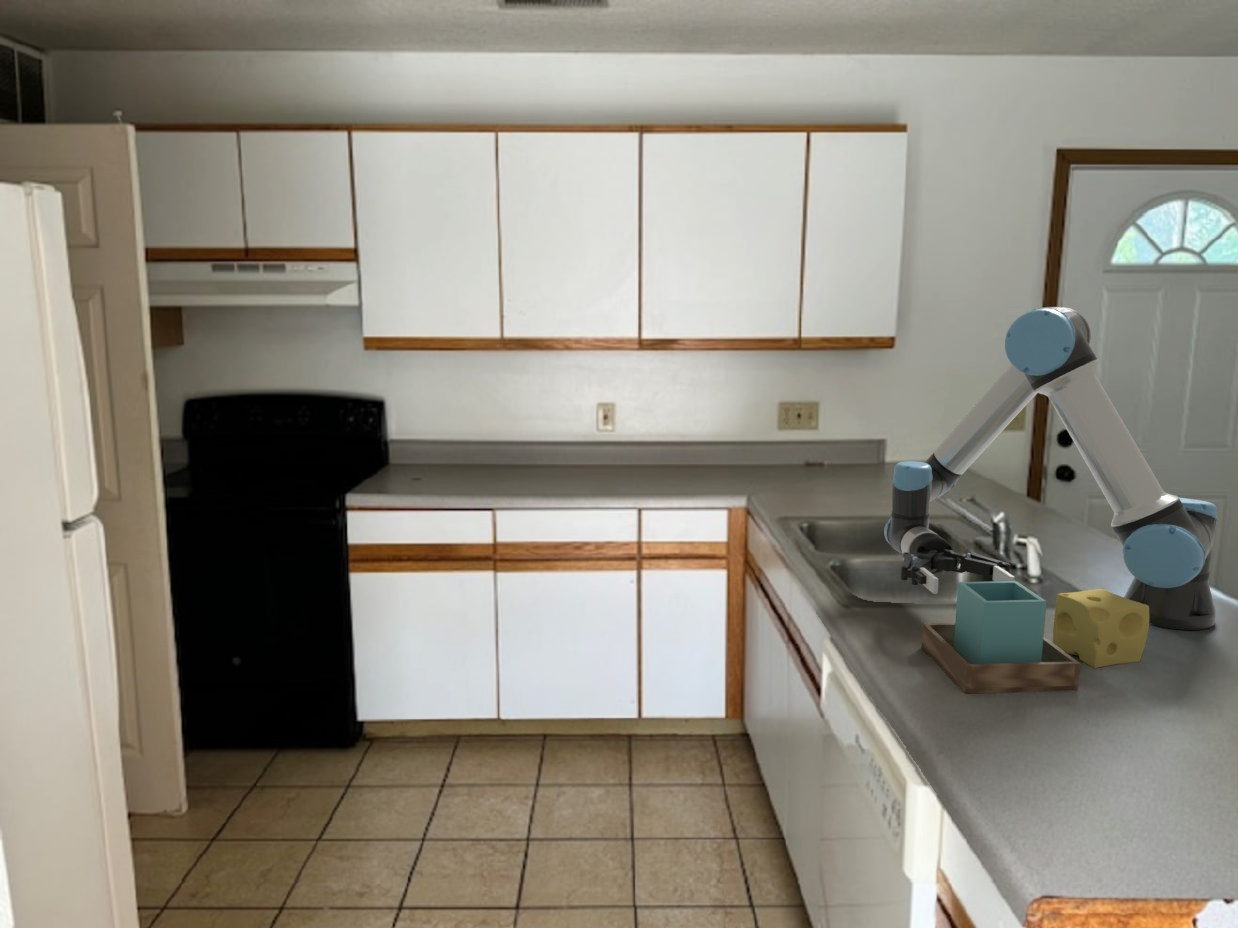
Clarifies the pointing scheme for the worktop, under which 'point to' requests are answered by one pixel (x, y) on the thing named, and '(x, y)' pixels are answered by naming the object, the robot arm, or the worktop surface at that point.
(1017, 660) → the teal crate
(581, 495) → the worktop surface
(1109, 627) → the cheese
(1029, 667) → the walnut crate
